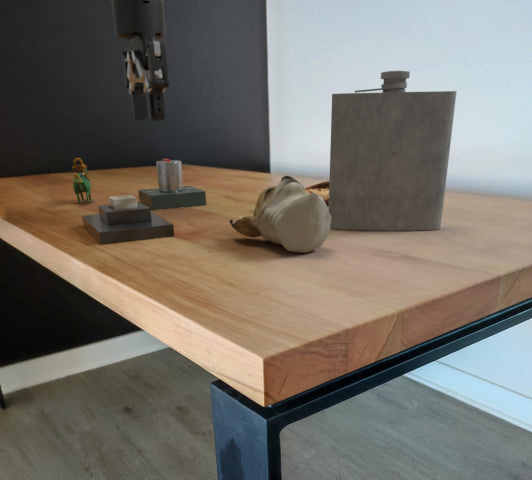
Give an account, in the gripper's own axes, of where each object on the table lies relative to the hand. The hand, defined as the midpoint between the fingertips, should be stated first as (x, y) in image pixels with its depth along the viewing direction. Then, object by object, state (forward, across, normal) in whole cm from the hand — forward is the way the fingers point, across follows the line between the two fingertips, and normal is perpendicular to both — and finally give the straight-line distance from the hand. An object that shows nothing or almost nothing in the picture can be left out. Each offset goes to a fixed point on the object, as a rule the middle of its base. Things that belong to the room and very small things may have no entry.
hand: (149, 120), depth 86 cm
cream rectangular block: (+11, +12, -9) cm, 19 cm away
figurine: (+15, -18, -8) cm, 25 cm away
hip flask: (+15, +31, +23) cm, 42 cm away
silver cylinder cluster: (+12, -7, +5) cm, 15 cm away
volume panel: (+14, -7, +5) cm, 17 cm away
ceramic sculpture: (+15, +32, +6) cm, 36 cm away
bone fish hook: (+15, +8, +25) cm, 30 cm away
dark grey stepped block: (+14, +12, -9) cm, 21 cm away
